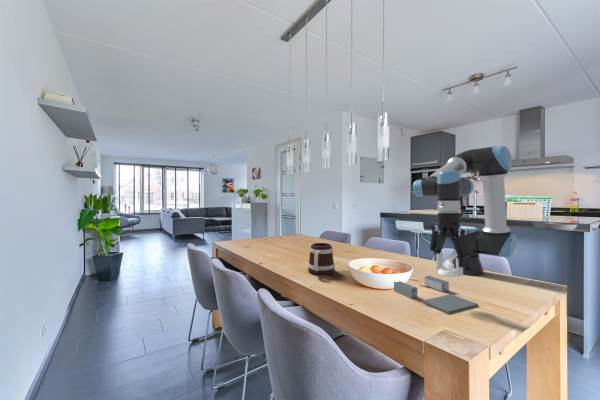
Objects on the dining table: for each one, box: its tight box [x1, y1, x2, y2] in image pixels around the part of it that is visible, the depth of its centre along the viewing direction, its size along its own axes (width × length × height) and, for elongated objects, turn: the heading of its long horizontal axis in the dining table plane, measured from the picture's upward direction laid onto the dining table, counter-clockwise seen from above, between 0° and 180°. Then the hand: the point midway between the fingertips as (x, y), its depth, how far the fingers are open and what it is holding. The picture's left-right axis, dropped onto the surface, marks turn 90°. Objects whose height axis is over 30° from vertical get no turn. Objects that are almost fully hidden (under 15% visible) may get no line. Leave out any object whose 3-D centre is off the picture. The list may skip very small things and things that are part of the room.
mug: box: [307, 242, 336, 276], centre depth 146 cm, size 20×15×15 cm
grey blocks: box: [393, 275, 450, 300], centre depth 116 cm, size 21×10×4 cm, turn 113°
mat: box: [421, 293, 479, 315], centre depth 101 cm, size 16×11×1 cm
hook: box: [437, 248, 458, 278], centre depth 101 cm, size 8×12×7 cm
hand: (449, 272), depth 101 cm, fingers closed on hook, 8 cm apart
